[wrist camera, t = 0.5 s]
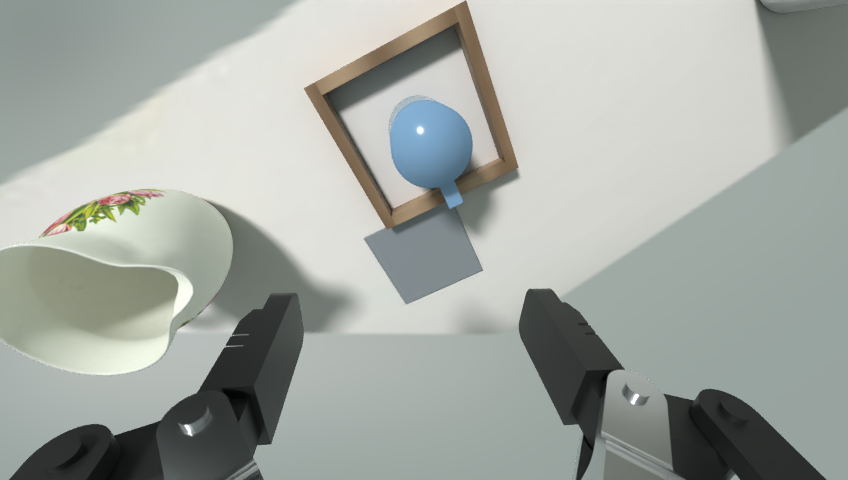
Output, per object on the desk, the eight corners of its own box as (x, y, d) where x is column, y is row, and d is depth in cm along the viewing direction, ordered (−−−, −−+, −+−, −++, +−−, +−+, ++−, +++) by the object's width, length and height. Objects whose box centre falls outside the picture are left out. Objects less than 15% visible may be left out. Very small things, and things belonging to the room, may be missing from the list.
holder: (460, 4, 25) (466, 0, 24) (511, 162, 32) (518, 167, 30) (308, 87, 27) (303, 88, 25) (387, 222, 33) (387, 229, 32)
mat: (449, 197, 33) (450, 197, 32) (482, 269, 37) (482, 270, 37) (364, 238, 34) (363, 238, 34) (405, 303, 38) (405, 304, 38)
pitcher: (53, 214, 29) (-182, 314, 17) (230, 143, 28) (115, 196, 16) (142, 301, 34) (11, 426, 22) (295, 244, 33) (245, 342, 21)
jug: (377, 113, 28) (375, 128, 20) (433, 84, 28) (454, 88, 20) (416, 190, 32) (427, 228, 24) (466, 165, 31) (494, 197, 23)
